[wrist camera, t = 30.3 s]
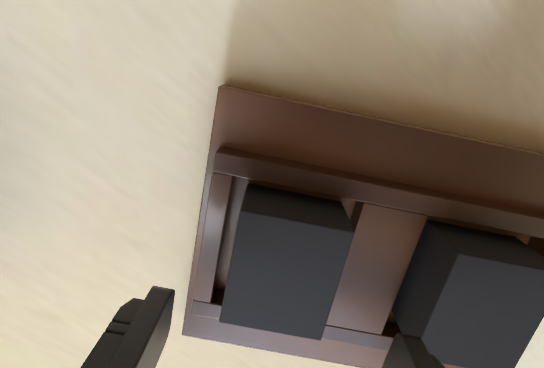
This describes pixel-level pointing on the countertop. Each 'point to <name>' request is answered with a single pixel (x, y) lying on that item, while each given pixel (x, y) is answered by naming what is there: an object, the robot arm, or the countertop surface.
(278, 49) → the countertop surface
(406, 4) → the countertop surface
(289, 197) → the dark gray block
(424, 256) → the dark grey block
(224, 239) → the brown base tray
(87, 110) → the countertop surface
